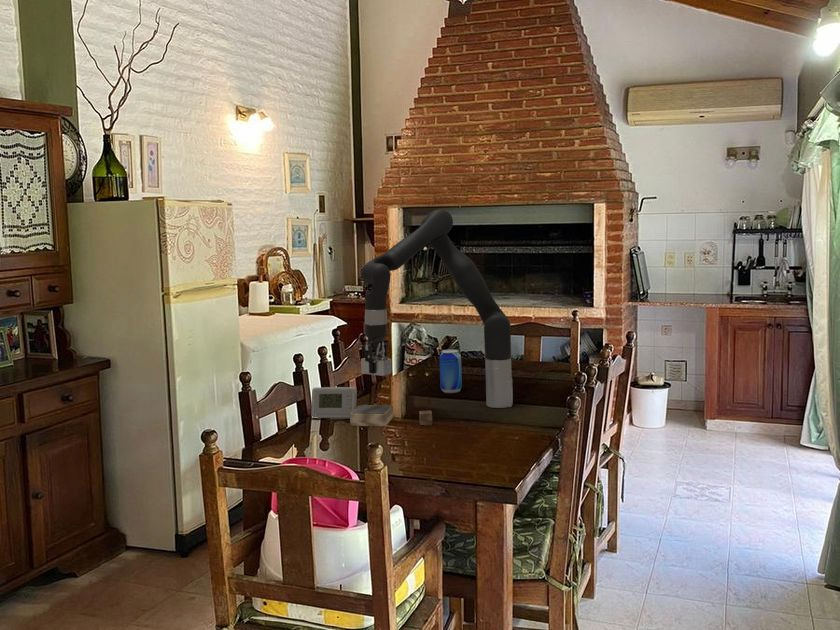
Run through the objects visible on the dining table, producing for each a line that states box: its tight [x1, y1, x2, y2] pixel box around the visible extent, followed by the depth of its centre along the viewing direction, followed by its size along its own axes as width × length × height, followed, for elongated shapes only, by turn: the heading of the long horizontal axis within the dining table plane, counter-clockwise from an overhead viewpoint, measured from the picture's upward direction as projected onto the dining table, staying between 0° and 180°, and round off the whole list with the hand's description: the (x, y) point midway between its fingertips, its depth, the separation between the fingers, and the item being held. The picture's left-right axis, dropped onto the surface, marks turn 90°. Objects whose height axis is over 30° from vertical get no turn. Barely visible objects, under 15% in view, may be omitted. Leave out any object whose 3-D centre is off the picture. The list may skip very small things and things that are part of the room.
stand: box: [349, 404, 394, 427], centre depth 265 cm, size 12×12×4 cm
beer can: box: [439, 349, 463, 394], centre depth 305 cm, size 8×8×16 cm
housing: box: [360, 357, 393, 377], centre depth 264 cm, size 5×9×6 cm, turn 61°
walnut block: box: [418, 410, 433, 426], centre depth 259 cm, size 4×4×4 cm
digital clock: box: [310, 386, 358, 420], centre depth 271 cm, size 16×9×11 cm, turn 71°
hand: (376, 371), depth 264 cm, fingers closed on housing, 5 cm apart
